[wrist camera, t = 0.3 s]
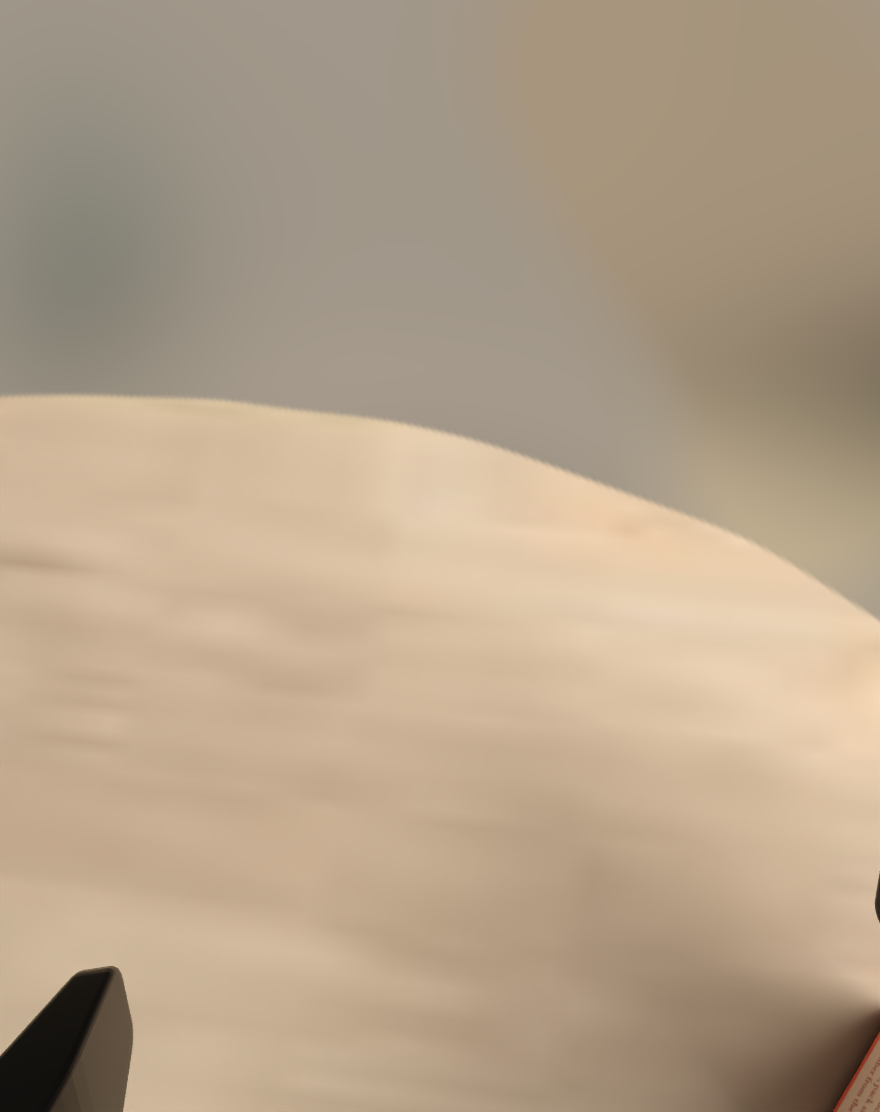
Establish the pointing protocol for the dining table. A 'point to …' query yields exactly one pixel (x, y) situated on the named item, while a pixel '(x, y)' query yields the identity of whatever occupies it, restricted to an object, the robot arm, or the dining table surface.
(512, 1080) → the dining table surface
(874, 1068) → the cracker box
